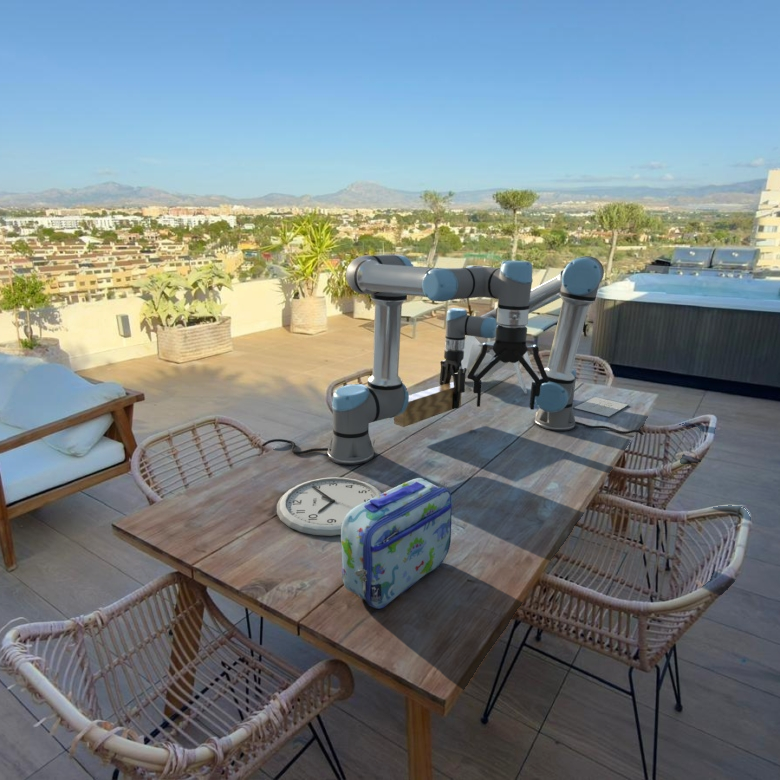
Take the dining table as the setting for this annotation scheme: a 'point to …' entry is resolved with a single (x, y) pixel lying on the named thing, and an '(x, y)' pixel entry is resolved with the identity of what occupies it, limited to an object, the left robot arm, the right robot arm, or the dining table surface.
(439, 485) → the fork
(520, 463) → the dining table surface
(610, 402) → the invitation card
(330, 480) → the wall clock
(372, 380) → the left robot arm
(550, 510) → the dining table surface
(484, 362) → the white plastic object
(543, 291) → the right robot arm
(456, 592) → the dining table surface
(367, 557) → the lunch box
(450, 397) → the bar
